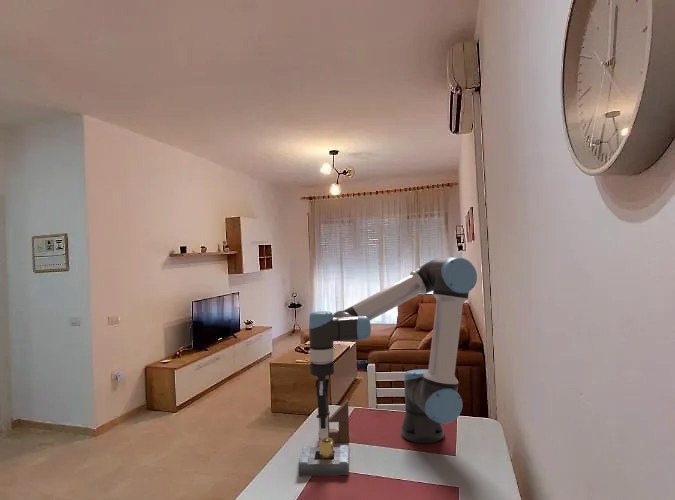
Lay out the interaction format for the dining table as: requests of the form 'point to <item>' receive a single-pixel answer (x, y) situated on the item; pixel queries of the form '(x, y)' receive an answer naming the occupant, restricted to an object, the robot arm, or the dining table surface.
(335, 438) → the brown wooden stand
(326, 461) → the jig
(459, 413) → the robot arm
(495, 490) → the dining table surface
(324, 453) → the bushing
